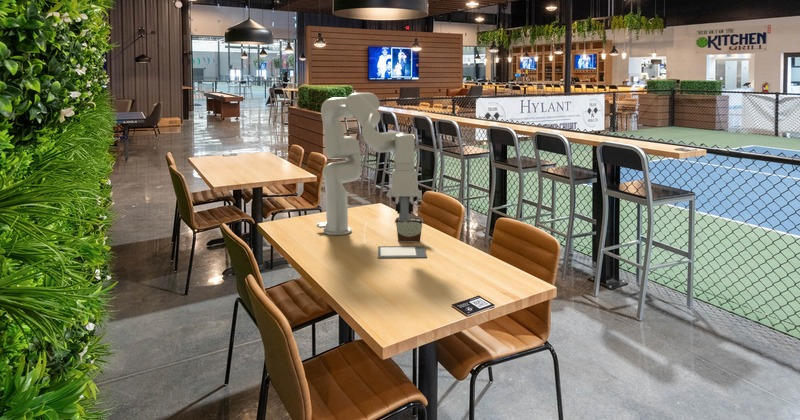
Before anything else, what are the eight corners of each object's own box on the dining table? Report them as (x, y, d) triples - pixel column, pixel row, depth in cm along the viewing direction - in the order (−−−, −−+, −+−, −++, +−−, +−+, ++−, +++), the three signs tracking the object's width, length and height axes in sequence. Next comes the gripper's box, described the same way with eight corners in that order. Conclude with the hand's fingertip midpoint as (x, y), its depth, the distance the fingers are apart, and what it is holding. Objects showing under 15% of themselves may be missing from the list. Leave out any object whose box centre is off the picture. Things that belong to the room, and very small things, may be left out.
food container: (424, 238, 252) (424, 215, 250) (423, 242, 246) (423, 219, 244) (396, 237, 254) (396, 215, 251) (394, 241, 248) (394, 218, 245)
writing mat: (377, 258, 225) (377, 257, 225) (378, 247, 239) (378, 246, 239) (426, 257, 225) (426, 256, 225) (424, 246, 240) (424, 245, 240)
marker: (399, 221, 225) (399, 188, 222) (398, 219, 229) (398, 186, 226) (409, 221, 225) (410, 188, 222) (409, 218, 229) (409, 186, 226)
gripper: (382, 168, 218) (382, 215, 222) (427, 168, 219) (426, 215, 223) (382, 165, 225) (382, 211, 230) (425, 164, 226) (424, 210, 230)
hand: (404, 212), depth 226 cm, fingers closed on marker, 3 cm apart
